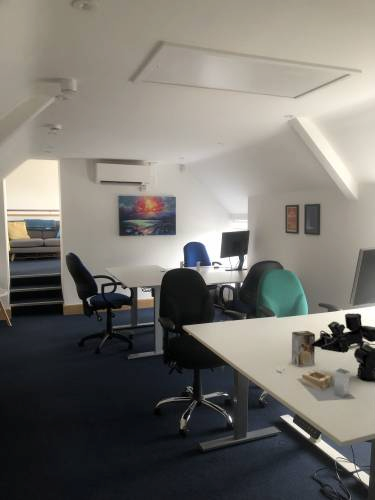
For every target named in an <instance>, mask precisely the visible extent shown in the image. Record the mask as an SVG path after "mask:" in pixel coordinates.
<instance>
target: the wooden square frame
mask: <svg viewBox="0 0 375 500" xmlns="http://www.w3.org/2000/svg"><path fill="white" fill-rule="evenodd" d="M301 376H302V378H301V379H302V384H304V385H307V386H309V387H312V388H315V389H317V390H320V391H321V390H323V389H325V388H327V387H329V386H331V385H332V379H333V375H331V374H327V373H325V372H322V371H319V370H316V369H313V370H311V371H308V372H306V373H303V374H302V375H301ZM302 384H301V385H302Z"/></svg>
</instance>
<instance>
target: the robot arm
mask: <svg viewBox="0 0 375 500" xmlns="http://www.w3.org/2000/svg"><path fill="white" fill-rule="evenodd" d="M344 320H345V324H340V323H339V322H337V321H332V322H330V323H329V324H327V327H328V328H329V329H330V331H331V333H330V334H329V333H327V332H320V334H319V338H318V339H317V340H316V339H315V342H313V343H311V346H314V347H317V348H320V349H321V350H324V351H330V352H335V353H342V354H344V353H348V351H349V350H350V349H349V348H350V347H351V345H355V344H356V345H357V346H358V348H355V350H354V353H353V356H354V358H355V360H356V362H357V364H358V363H359V364H358V368H357V374H356V377H357V378H359V379H360V380H361V381H363V382H375V347H373V346H370V345H369V344H365V341H367V342H369V343H370V342H371V343H373V342H375V327H374V326H370V325H362V314H360V313H345V314H344ZM345 329H348V330H349V331H345ZM344 331H345V332H344ZM364 340H365V341H364ZM364 344H365V345H364Z"/></svg>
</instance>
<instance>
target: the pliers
mask: <svg viewBox="0 0 375 500" xmlns="http://www.w3.org/2000/svg"><path fill="white" fill-rule="evenodd" d="M276 372H277V373H280V374H281V375H282V376H283V375H285V367H282V368H280V367H279V366H276Z"/></svg>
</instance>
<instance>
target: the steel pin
mask: <svg viewBox="0 0 375 500" xmlns="http://www.w3.org/2000/svg"><path fill="white" fill-rule="evenodd" d="M334 373H335V374H334V381H335V390H334V394H335V395H337V396H340V397H343V398H344V397H346V396H348V395H349V393H350V375H351V372H350V370H347V369H344V368H339V369H337V370H335V371H334Z"/></svg>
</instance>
